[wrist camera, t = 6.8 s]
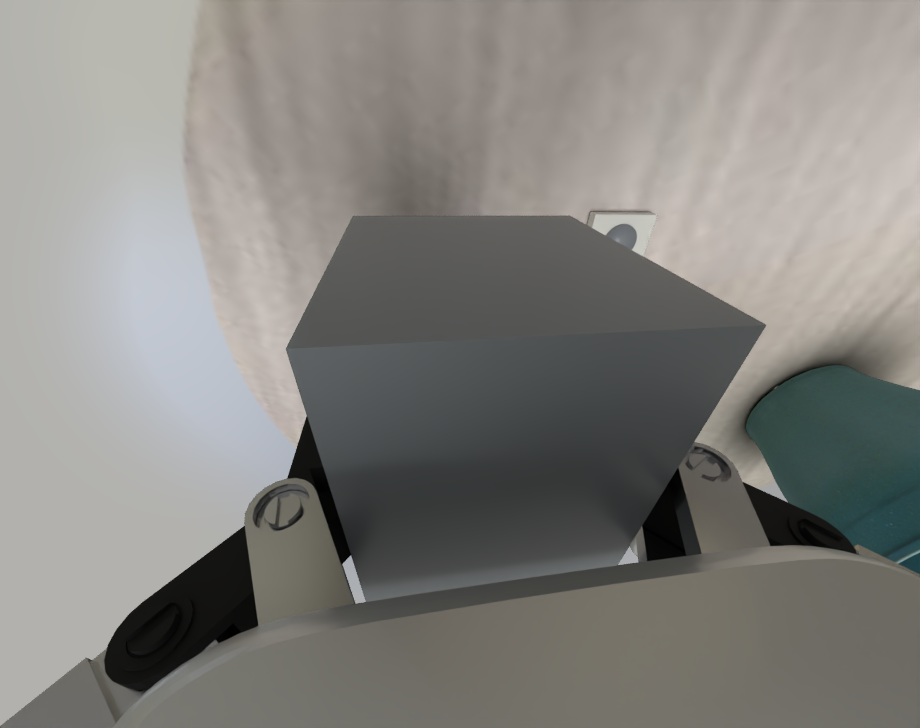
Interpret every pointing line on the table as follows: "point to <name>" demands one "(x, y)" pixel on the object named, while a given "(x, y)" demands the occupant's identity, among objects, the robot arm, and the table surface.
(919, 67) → the table surface
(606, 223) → the pad
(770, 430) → the flower pot
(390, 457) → the block
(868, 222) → the table surface
